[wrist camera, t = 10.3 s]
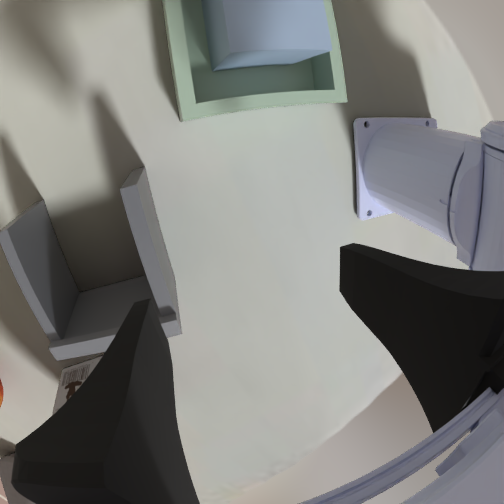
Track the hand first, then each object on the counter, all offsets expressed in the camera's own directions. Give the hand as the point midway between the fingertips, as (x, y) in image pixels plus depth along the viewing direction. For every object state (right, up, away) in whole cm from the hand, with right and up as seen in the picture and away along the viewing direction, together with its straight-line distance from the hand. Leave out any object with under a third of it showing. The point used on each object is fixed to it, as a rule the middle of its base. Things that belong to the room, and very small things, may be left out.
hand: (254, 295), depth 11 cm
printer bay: (-10, +2, +7) cm, 12 cm away
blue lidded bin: (-1, +18, +2) cm, 18 cm away
